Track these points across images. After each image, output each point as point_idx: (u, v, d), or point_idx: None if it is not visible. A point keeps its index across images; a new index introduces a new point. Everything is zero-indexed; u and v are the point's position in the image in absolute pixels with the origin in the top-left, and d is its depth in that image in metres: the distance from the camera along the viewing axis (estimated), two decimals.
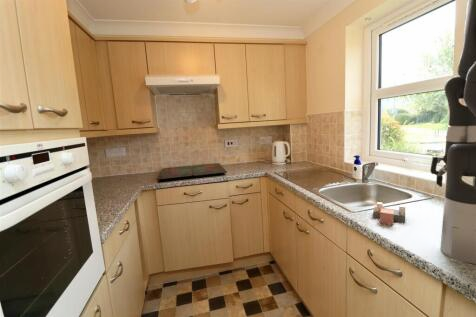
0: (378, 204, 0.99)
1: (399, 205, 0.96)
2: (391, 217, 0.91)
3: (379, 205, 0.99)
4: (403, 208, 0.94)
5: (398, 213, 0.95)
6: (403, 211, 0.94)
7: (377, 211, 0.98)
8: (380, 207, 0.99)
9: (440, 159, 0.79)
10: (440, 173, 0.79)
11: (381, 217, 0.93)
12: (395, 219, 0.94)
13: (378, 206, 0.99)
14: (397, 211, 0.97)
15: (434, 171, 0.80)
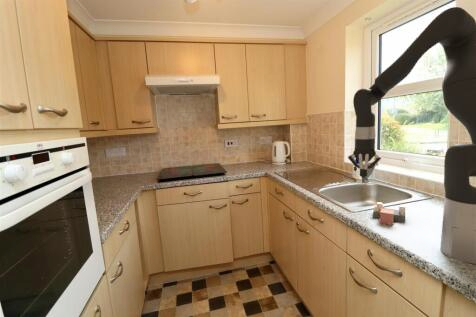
0: (378, 204, 0.99)
1: (399, 205, 0.96)
2: (391, 217, 0.91)
3: (379, 205, 0.99)
4: (403, 208, 0.94)
5: (398, 213, 0.95)
6: (403, 211, 0.94)
7: (377, 211, 0.98)
8: (380, 207, 0.99)
9: (353, 155, 1.02)
10: (361, 167, 1.01)
11: (381, 217, 0.93)
12: (395, 219, 0.94)
13: (378, 206, 0.99)
14: (397, 211, 0.97)
15: (357, 165, 1.01)
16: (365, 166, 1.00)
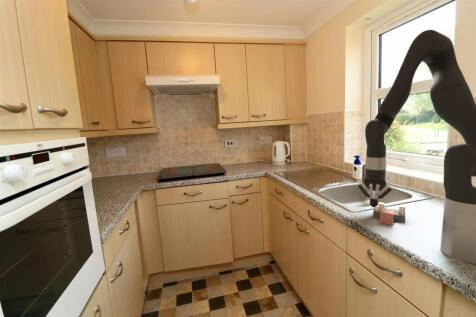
0: (380, 204, 0.99)
1: (399, 205, 0.96)
2: (391, 217, 0.91)
3: (381, 205, 0.99)
4: (403, 208, 0.94)
5: (398, 213, 0.95)
6: (403, 211, 0.94)
7: (377, 211, 0.98)
8: (382, 207, 0.99)
9: (363, 184, 1.02)
10: (371, 196, 1.00)
11: (381, 217, 0.93)
12: (395, 219, 0.94)
13: (380, 206, 0.99)
14: (397, 211, 0.97)
15: (367, 194, 1.00)
16: (376, 196, 0.99)
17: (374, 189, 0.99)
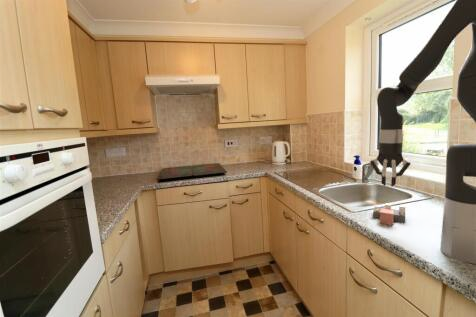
0: (387, 205, 0.98)
1: (399, 205, 0.96)
2: (391, 217, 0.91)
3: (388, 206, 0.97)
4: (403, 208, 0.94)
5: (398, 213, 0.95)
6: (403, 211, 0.94)
7: (377, 211, 0.98)
8: (389, 208, 0.97)
9: (376, 160, 0.92)
10: (383, 173, 0.91)
11: (381, 217, 0.93)
12: (395, 219, 0.94)
13: (387, 207, 0.98)
14: (397, 211, 0.97)
15: (379, 172, 0.92)
16: (394, 173, 0.89)
17: (390, 166, 0.89)
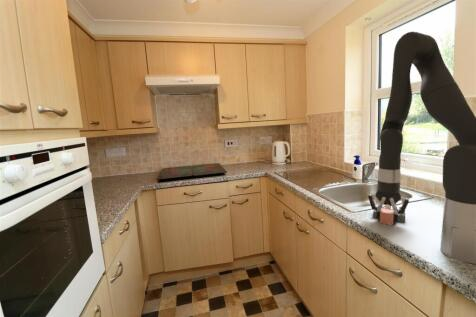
0: (387, 205, 0.98)
1: (399, 205, 0.96)
2: (391, 217, 0.91)
3: (388, 206, 0.97)
4: None
5: None
6: None
7: None
8: (389, 208, 0.97)
9: (374, 196, 0.95)
10: (378, 209, 0.94)
11: (381, 217, 0.93)
12: None
13: (387, 207, 0.98)
14: None
15: (374, 207, 0.95)
16: (395, 211, 0.91)
17: (390, 204, 0.91)
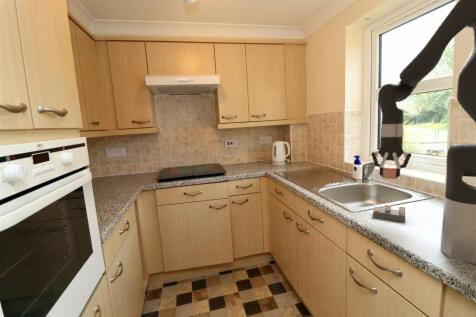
0: (387, 205, 0.98)
1: (399, 205, 0.96)
2: (394, 172, 0.93)
3: (388, 206, 0.97)
4: (403, 208, 0.94)
5: (398, 213, 0.95)
6: (403, 211, 0.94)
7: (377, 211, 0.98)
8: (389, 208, 0.97)
9: (377, 153, 0.97)
10: (381, 165, 0.96)
11: (384, 172, 0.95)
12: (395, 219, 0.94)
13: (387, 207, 0.98)
14: (397, 211, 0.97)
15: (377, 164, 0.97)
16: (398, 165, 0.93)
17: (392, 159, 0.94)
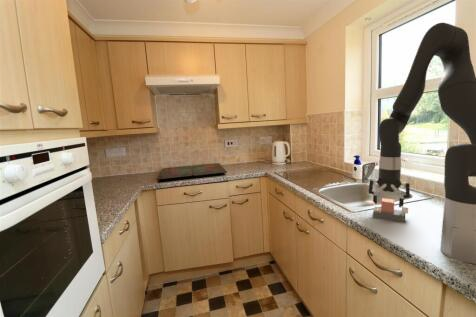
0: None
1: None
2: (392, 206, 0.95)
3: None
4: (406, 208, 0.94)
5: (398, 213, 0.95)
6: (406, 211, 0.94)
7: (377, 211, 0.98)
8: None
9: (375, 182, 0.99)
10: (375, 193, 0.99)
11: (382, 206, 0.97)
12: (395, 219, 0.94)
13: None
14: (397, 211, 0.97)
15: (371, 191, 1.00)
16: (401, 195, 0.94)
17: (393, 191, 0.95)
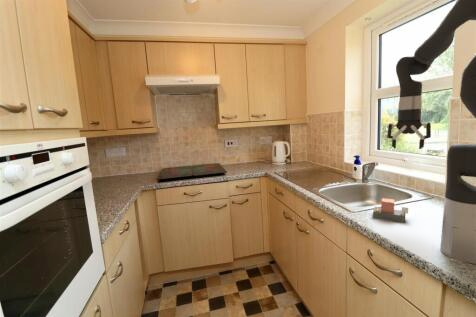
0: None
1: (402, 205, 0.96)
2: (392, 206, 0.95)
3: None
4: (406, 208, 0.94)
5: (398, 213, 0.95)
6: (406, 211, 0.94)
7: (377, 211, 0.98)
8: None
9: (394, 125, 0.98)
10: (394, 137, 0.98)
11: (382, 206, 0.97)
12: (395, 219, 0.94)
13: None
14: (397, 211, 0.97)
15: (389, 135, 0.98)
16: (422, 136, 0.92)
17: (413, 132, 0.94)
